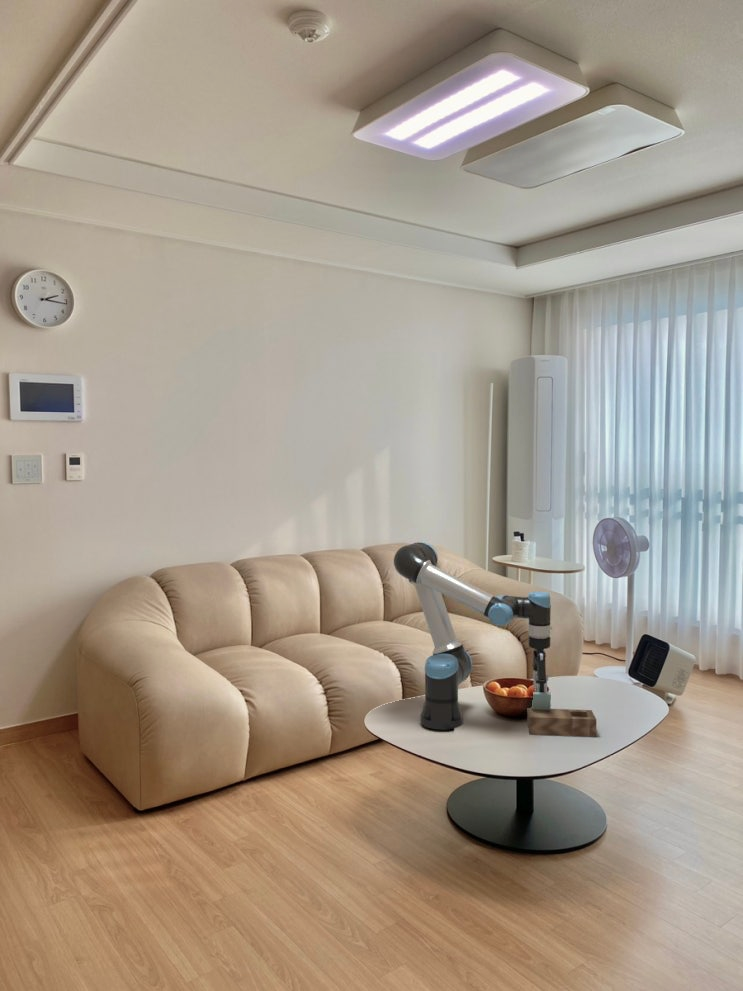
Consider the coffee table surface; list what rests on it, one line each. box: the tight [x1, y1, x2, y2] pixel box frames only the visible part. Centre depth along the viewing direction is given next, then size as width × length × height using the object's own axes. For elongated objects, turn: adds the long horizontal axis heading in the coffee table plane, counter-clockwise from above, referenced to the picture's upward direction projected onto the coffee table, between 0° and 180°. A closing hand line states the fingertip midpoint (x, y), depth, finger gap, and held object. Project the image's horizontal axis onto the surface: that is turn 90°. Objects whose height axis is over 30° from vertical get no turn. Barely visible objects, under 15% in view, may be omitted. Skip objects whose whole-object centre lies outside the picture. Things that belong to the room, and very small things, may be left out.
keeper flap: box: [531, 692, 552, 710], centre depth 273 cm, size 6×1×8 cm, turn 83°
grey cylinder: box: [534, 674, 549, 693], centre depth 276 cm, size 5×5×10 cm
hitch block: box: [526, 708, 597, 738], centre depth 271 cm, size 22×10×6 cm, turn 83°
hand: (539, 694), depth 281 cm, fingers open, 13 cm apart
